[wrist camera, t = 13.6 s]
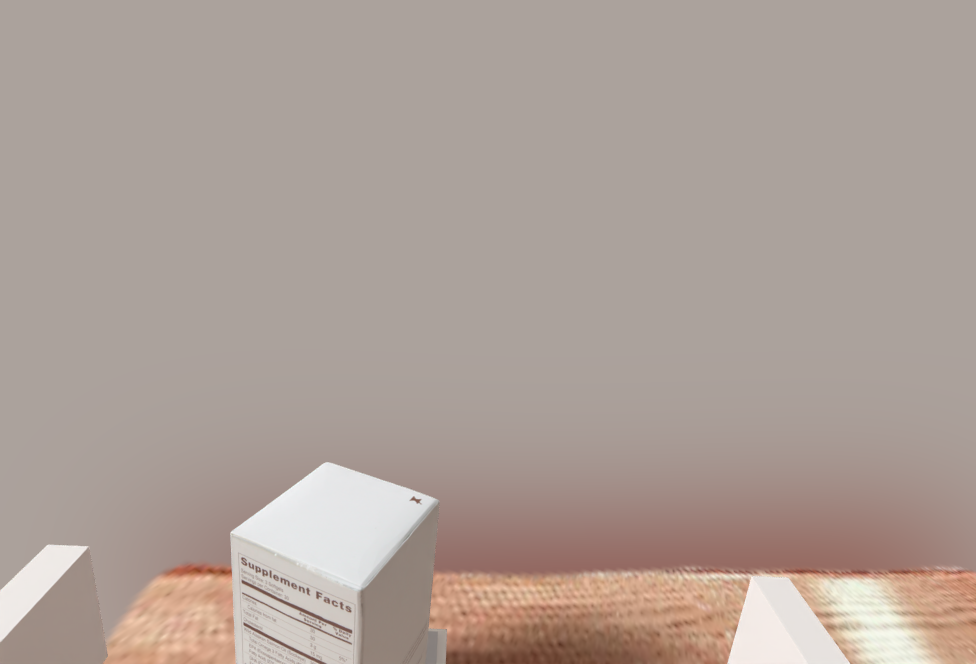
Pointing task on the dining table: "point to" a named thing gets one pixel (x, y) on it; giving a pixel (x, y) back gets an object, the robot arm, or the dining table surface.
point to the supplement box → (335, 573)
